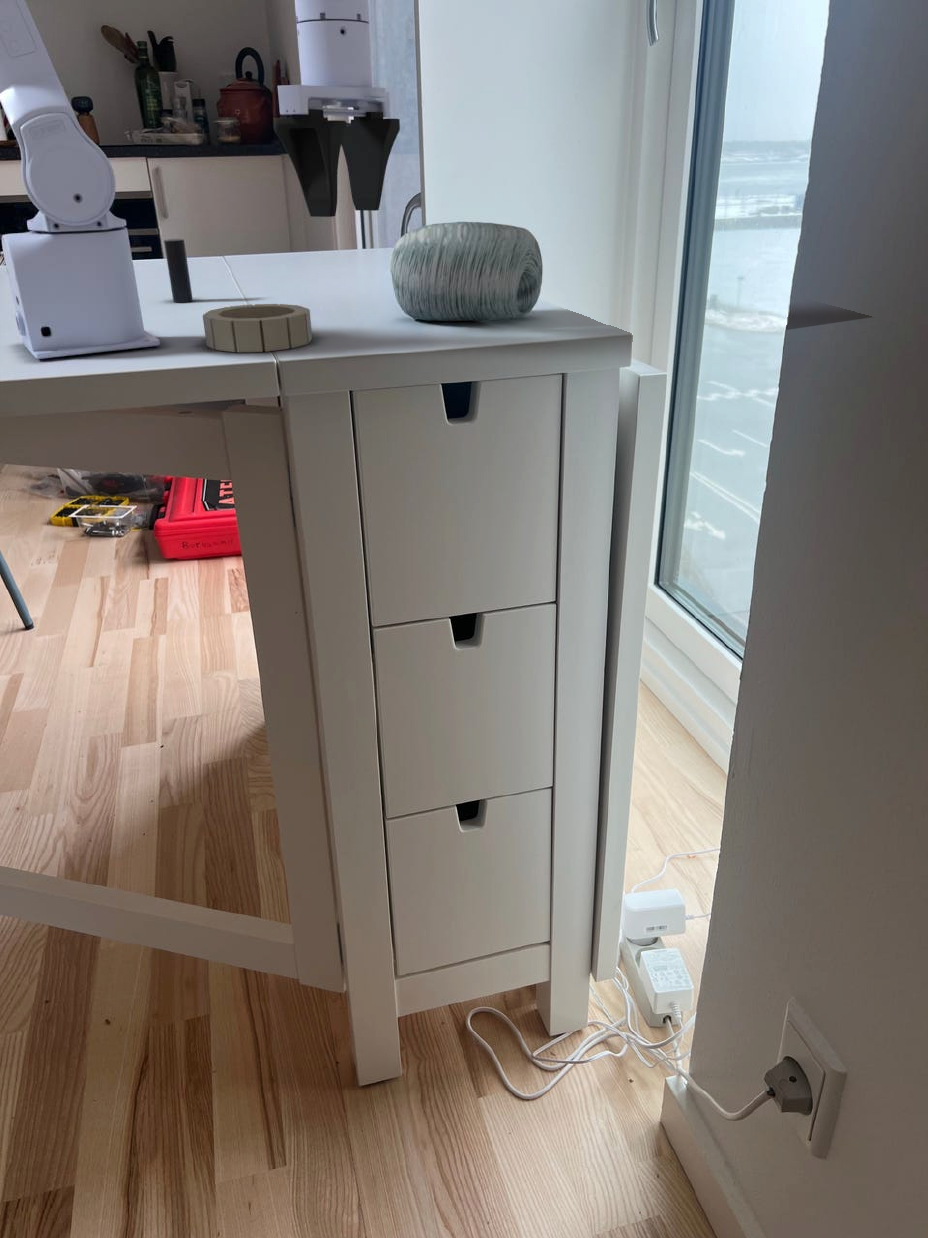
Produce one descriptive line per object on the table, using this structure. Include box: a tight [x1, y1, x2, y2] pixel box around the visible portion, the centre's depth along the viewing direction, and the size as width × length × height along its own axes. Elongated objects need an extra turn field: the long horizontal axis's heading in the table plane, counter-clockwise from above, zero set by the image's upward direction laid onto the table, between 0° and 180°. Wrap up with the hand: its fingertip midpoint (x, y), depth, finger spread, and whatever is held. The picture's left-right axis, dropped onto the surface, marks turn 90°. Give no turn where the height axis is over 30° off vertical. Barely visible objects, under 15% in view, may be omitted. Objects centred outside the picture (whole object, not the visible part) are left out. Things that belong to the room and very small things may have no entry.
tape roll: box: [202, 303, 313, 353], centre depth 75 cm, size 8×8×2 cm
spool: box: [389, 221, 544, 322], centre depth 82 cm, size 14×10×10 cm
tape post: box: [163, 238, 194, 303], centre depth 96 cm, size 2×2×6 cm
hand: (345, 213), depth 78 cm, fingers open, 7 cm apart
